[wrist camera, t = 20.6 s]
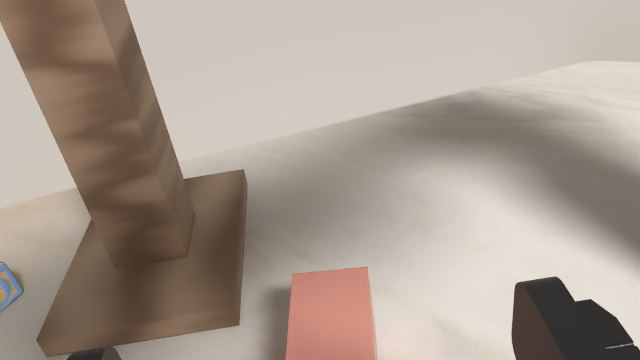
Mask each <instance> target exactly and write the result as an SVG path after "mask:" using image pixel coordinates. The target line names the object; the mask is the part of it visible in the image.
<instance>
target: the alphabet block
mask: <svg viewBox="0 0 640 360" xmlns="http://www.w3.org/2000/svg"><path fill="white" fill-rule="evenodd" d="M22 291H23V290H22V288H21V287H20V285H19V283H18V282H17V281H16V279H15V277H14V276H13V274H12V273H11V271H10V270H9V268H8V267H7V265H6V264H5V263H4V262H0V312H1V311H2V310H3V309H4V308H5V307H7V306H8V305H9V304H10V303H11V302H12V301H13V300H15V299H16V298H17V297H18V296H19V295H20V294H21V293H22Z"/></svg>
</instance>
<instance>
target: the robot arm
mask: <svg viewBox="0 0 640 360" xmlns="http://www.w3.org/2000/svg"><path fill="white" fill-rule="evenodd" d="M512 344H513V349H514V353H515V357H516V360H640V350H639V349H638V347H637V346H634V344H633V340H632V339H631V337H630V336H629V335H628V333H627V332H626V331H625V329H624V328H623V326H622V325H621V324H620V322H619V321H618V319H617V318H616V317H615V316H613V315H612V314H611V313H609V312H608V311H606V310H605V309H604V308H602V307H601V306H600V305H598V304H597V303H595V302H594V301H593V300H591V299H589V300H582V301H576V302H575V301H574V299H573V297H572V296H571V294H570V293H569V291H568V290H567V288H566V287H565V285H564V284H563V282H562V281H561V280H560V279H559V278H558V277H549V278H542V279H536V280H530V281H524V282H518V283H517V284H516V286H515V292H514V306H513V321H512ZM67 360H121V358H120V356H119V354H118V352H117V351H116V349H115V348H113V347H106V348H99V349H93V350H87V351H81V352H75V353H72V354H71V355H70V356H69V357H68V359H67Z"/></svg>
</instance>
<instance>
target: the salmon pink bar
mask: <svg viewBox="0 0 640 360" xmlns="http://www.w3.org/2000/svg"><path fill="white" fill-rule="evenodd" d="M285 360H378V358H377V347H376V335H375V324H374V315H373V307H372V299H371V291H370V283H369V276H368V268H367V267H361V268H350V269H340V270H329V271H319V272H309V273H298V274H293V275H292V287H291V298H290V310H289V322H288V334H287V345H286V357H285Z"/></svg>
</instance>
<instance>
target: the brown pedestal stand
mask: <svg viewBox="0 0 640 360" xmlns="http://www.w3.org/2000/svg"><path fill="white" fill-rule="evenodd" d="M0 22H1V24H2V26H3V29H4V31H5V33H6V35H7V37H8V39H9V41H10V43H11V46H12V48H13V50H14V52H15V54H16V56H17V59H18V61H19V63H20V65H21V67H22V69H23V71H24V74H25V76H26V78H27V80H28V82H29V84H30V87H31V89H32V91H33V93H34V95H35V97H36V100H37V102H38V104H39V106H40V108H41V110H42V112H43V115H44V117H45V118H46V121H47V123H48V125H49V127H50V130H51V132H52V134H53V136H54V138H55V140H56V142H57V144H58V147H59V149H60V151H61V153H62V155H63V157H64V160H65V162H66V164H67V166H68V168H69V171H70V173H71V175H72V177H73V179H74V181H75V183H76V186H77V188H78V190H79V192H80V194H81V196H82V199H83V201H84V203H85V205H86V207H87V209H88V211H89V214H90V216H91V218H92V219H91V221H90V224H89V226H88V228H87V230H86V232H85V235H84V237H83V239H82V241H81V243H80V246H79V248H78V250H77V252H76V254H75V256H74V259H73V261H72V263H71V265H70V267H69V270H68V272H67V274H66V276H65V278H64V280H63V283H62V285H61V287H60V289H59V291H58V294H57V296H56V298H55V300H54V302H53V304H52V307H51V309H50V311H49V313H48V315H47V318H46V320H45V322H44V324H43V326H42V328H41V331H40V333H39V335H38V337H37V339H36V341H37V342H38V344H39V345H40V347H41V349H42V350H43V352H44V353H45V355H46V357H47V356H53V355H59V354H65V353H71V352H77V351H83V350H90V349H96V348H102V347H108V346H114V345H120V344H126V343H132V342H138V341H145V340H151V339H157V338H163V337H169V336H175V335H181V334H187V333H193V332H199V331H206V330H212V329H218V328H224V327H230V326H236V325H239V320H240V303H241V285H242V268H243V251H244V234H245V216H246V199H247V181H246V177H245V173H244V169H242V170H236V171H230V172H224V173H218V174H212V175H206V176H200V177H194V178H188V179H184V178H183V175H182V172H181V169H180V166H179V163H178V160H177V157H176V154H175V151H174V149H173V146H172V143H171V139H170V136H169V133H168V130H167V127H166V124H165V122H164V118H163V115H162V113H161V109H160V107H159V104H158V101H157V98H156V94H155V91H154V88H153V85H152V82H151V79H150V76H149V73H148V71H147V67H146V65H145V61H144V59H143V55H142V53H141V49H140V46H139V43H138V40H137V37H136V34H135V31H134V28H133V25H132V22H131V20H130V16H129V13H128V11H127V7H126V4H125V1H124V0H0Z"/></svg>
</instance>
